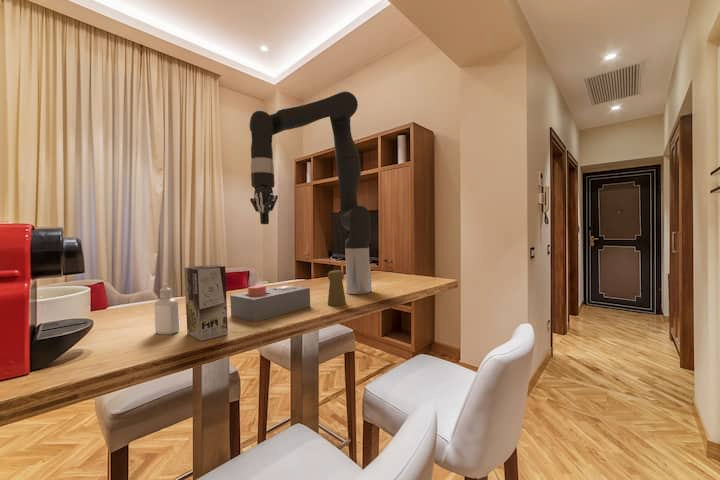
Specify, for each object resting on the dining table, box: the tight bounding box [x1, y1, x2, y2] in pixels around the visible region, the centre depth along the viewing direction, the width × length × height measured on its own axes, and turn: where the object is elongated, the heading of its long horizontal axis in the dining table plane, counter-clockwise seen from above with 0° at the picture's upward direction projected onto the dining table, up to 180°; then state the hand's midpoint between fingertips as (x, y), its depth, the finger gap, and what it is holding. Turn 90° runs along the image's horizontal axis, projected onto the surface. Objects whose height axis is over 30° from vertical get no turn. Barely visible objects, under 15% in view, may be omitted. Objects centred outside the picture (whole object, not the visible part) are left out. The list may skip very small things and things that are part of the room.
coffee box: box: [183, 264, 229, 342], centre depth 72 cm, size 9×6×16 cm
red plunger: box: [247, 285, 267, 297], centre depth 89 cm, size 5×5×6 cm
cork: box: [327, 269, 347, 307], centre depth 99 cm, size 6×6×11 cm
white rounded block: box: [276, 285, 294, 291], centre depth 97 cm, size 5×5×6 cm
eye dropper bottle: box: [153, 283, 180, 335], centre depth 75 cm, size 4×6×12 cm
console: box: [229, 284, 311, 323], centre depth 93 cm, size 20×12×6 cm, turn 142°
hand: (264, 224), depth 104 cm, fingers closed
